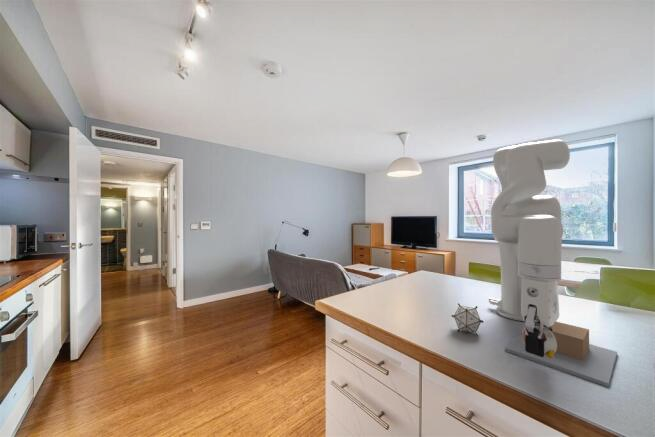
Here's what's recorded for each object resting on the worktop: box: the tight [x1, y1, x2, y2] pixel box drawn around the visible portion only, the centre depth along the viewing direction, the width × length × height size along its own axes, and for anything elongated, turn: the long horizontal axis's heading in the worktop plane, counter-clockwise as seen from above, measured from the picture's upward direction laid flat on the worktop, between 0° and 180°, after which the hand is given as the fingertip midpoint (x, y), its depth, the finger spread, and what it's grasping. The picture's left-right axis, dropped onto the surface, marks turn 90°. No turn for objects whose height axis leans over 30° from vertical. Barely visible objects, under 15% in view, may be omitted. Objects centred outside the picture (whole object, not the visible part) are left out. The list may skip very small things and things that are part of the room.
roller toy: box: [522, 326, 557, 358], centre depth 57 cm, size 4×6×6 cm
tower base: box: [504, 321, 618, 388], centre depth 64 cm, size 18×20×6 cm
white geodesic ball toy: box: [450, 302, 484, 336], centre depth 76 cm, size 9×8×10 cm
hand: (539, 347), depth 57 cm, fingers closed on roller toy, 6 cm apart
